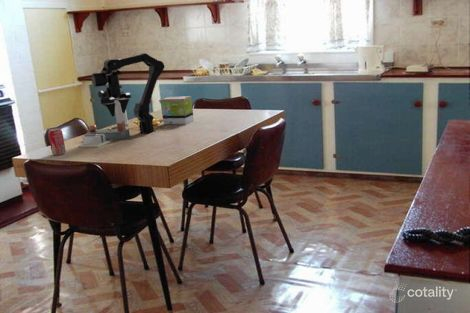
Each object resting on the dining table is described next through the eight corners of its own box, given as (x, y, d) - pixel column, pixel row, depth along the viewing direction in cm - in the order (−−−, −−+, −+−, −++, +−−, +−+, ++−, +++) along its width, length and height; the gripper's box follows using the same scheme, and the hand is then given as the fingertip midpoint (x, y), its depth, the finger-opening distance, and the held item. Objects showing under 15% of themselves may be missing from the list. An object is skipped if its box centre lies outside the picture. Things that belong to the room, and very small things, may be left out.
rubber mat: (110, 142, 262) (110, 140, 262) (98, 146, 253) (98, 145, 253) (91, 142, 267) (91, 141, 267) (78, 146, 258) (78, 145, 258)
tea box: (163, 125, 296) (159, 99, 292) (171, 121, 305) (168, 96, 301) (186, 124, 290) (183, 98, 286) (194, 120, 299) (191, 95, 295)
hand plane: (130, 136, 271) (127, 121, 269) (122, 139, 264) (119, 124, 262) (95, 137, 279) (93, 122, 277) (87, 140, 273) (84, 125, 271)
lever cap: (105, 142, 260) (104, 133, 259) (99, 144, 256) (98, 135, 255) (89, 142, 264) (88, 133, 263) (83, 144, 260) (81, 135, 259)
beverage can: (54, 153, 248) (49, 128, 245) (67, 152, 249) (62, 127, 246) (50, 156, 242) (46, 131, 239) (64, 155, 243) (59, 129, 240)
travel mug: (126, 126, 302) (121, 92, 297) (115, 127, 303) (110, 93, 298) (130, 124, 308) (125, 90, 303) (120, 125, 309) (115, 91, 304)
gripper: (111, 82, 276) (116, 111, 279) (89, 87, 259) (94, 118, 263) (129, 81, 271) (133, 111, 275) (107, 86, 255) (112, 118, 258)
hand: (118, 114), depth 268 cm, fingers open, 9 cm apart
